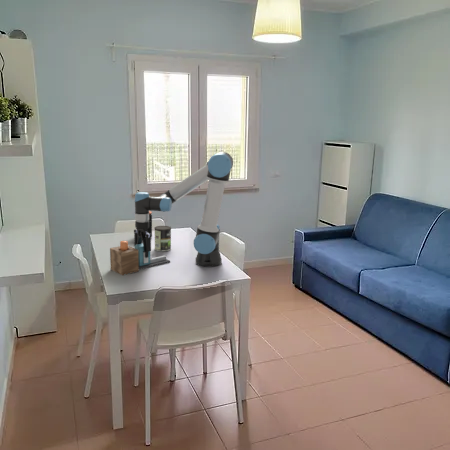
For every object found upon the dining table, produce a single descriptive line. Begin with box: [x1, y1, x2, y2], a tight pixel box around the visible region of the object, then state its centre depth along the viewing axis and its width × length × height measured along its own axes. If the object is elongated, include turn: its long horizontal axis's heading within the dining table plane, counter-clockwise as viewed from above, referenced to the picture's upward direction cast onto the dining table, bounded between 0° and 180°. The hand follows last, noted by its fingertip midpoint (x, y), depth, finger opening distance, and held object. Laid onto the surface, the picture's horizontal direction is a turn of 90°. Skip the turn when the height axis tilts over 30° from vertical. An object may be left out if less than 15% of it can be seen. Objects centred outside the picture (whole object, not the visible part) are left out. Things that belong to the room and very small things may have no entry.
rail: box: [139, 255, 171, 271], centre depth 251 cm, size 8×22×3 cm, turn 133°
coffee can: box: [154, 225, 172, 252], centre depth 280 cm, size 10×10×14 cm
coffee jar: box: [135, 210, 153, 238], centre depth 304 cm, size 11×11×18 cm
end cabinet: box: [109, 245, 140, 276], centre depth 239 cm, size 12×11×12 cm
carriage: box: [134, 242, 151, 266], centre depth 247 cm, size 5×7×11 cm
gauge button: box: [119, 240, 129, 251], centre depth 238 cm, size 4×4×6 cm
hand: (142, 261), depth 248 cm, fingers open, 6 cm apart
